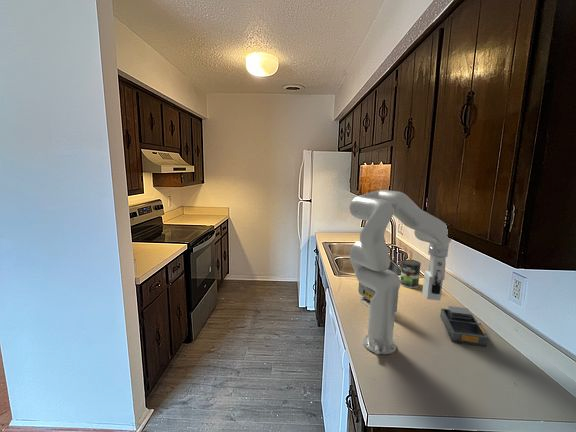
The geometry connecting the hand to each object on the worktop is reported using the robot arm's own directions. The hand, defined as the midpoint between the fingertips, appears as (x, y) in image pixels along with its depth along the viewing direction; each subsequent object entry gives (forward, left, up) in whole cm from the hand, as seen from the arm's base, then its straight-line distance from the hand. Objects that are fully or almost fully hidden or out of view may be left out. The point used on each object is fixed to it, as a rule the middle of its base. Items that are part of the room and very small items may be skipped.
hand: (433, 289), depth 134 cm
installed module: (+3, -12, -16) cm, 21 cm away
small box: (0, +1, -4) cm, 4 cm away
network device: (+10, +24, -17) cm, 31 cm away
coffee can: (+44, +4, -17) cm, 48 cm away
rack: (-2, -12, -16) cm, 21 cm away
